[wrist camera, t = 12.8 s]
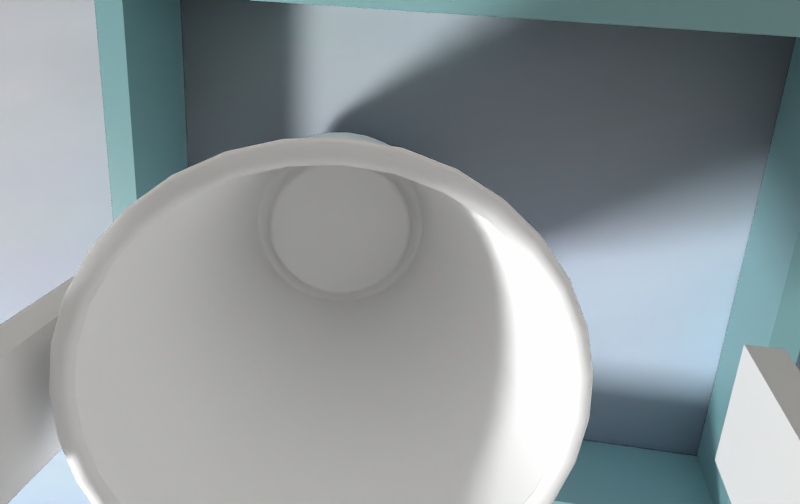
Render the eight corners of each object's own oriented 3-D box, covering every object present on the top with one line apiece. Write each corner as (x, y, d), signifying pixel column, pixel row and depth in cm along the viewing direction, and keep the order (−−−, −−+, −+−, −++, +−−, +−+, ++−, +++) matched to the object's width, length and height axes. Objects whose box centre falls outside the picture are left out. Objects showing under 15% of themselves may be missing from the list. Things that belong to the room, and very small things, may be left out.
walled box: (153, -40, 22) (90, -43, 19) (836, 2, 20) (895, 6, 17) (179, 401, 28) (133, 456, 25) (715, 478, 25) (743, 551, 22)
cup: (482, 48, 22) (591, 104, 12) (502, 342, 26) (599, 586, 15) (153, 87, 22) (-30, 178, 12) (217, 377, 25) (119, 647, 15)
